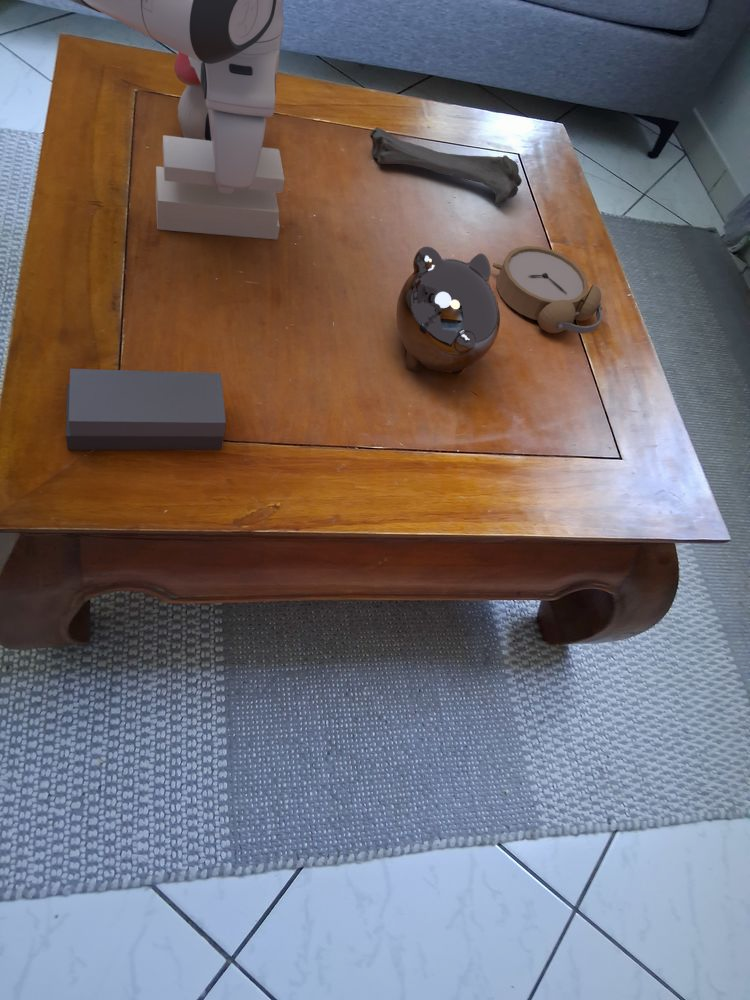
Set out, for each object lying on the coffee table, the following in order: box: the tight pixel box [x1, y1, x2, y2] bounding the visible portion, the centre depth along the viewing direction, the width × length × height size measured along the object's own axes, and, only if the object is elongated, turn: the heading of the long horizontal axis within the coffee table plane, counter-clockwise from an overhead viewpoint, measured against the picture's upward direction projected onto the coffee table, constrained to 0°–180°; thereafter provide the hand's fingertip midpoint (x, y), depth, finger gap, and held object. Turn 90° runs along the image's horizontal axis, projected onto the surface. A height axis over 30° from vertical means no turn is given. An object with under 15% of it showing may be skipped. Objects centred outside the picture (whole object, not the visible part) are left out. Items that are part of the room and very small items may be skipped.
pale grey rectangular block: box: [162, 134, 285, 194], centre depth 86 cm, size 13×6×2 cm, turn 100°
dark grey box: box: [65, 368, 227, 451], centre depth 72 cm, size 14×6×4 cm, turn 100°
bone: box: [369, 126, 523, 207], centre depth 105 cm, size 22×6×6 cm, turn 83°
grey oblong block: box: [155, 166, 281, 240], centre depth 90 cm, size 14×6×4 cm, turn 100°
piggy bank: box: [395, 246, 501, 375], centre depth 84 cm, size 11×15×12 cm
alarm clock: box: [492, 245, 603, 334], centre depth 97 cm, size 11×5×15 cm
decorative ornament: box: [173, 51, 211, 141], centre depth 93 cm, size 9×6×15 cm
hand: (222, 169), depth 86 cm, fingers closed on pale grey rectangular block, 5 cm apart
